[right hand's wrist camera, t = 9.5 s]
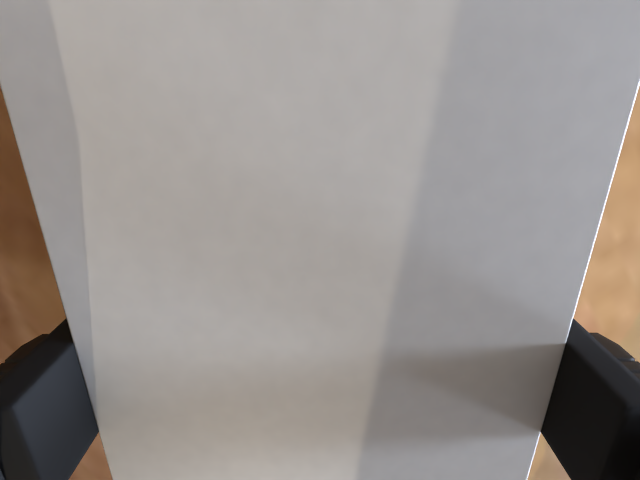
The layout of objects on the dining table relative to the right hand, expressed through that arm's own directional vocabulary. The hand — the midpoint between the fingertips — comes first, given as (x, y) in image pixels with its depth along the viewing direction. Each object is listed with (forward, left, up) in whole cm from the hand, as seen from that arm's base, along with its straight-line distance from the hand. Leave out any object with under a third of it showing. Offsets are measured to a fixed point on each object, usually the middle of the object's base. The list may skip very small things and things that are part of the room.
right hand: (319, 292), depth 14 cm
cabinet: (+1, -6, -4) cm, 7 cm away
